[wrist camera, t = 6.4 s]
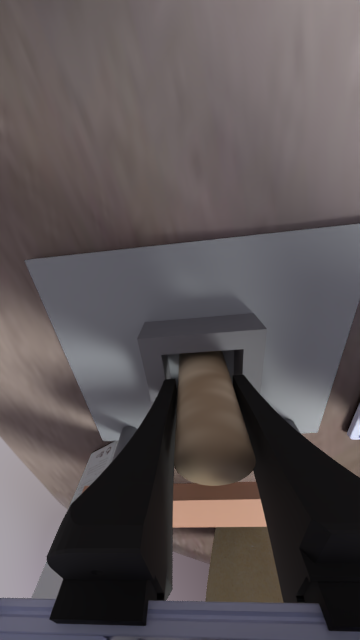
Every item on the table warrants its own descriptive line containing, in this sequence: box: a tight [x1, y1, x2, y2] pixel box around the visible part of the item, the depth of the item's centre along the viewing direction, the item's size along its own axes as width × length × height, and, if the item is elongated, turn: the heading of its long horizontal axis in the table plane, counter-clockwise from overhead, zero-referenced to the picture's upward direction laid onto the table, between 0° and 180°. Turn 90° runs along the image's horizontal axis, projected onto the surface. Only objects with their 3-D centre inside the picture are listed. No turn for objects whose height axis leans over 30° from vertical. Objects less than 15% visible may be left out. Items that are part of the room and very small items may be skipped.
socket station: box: [24, 223, 360, 527], centre depth 12 cm, size 20×17×7 cm
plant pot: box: [205, 527, 284, 603], centre depth 20 cm, size 15×15×16 cm
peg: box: [174, 351, 256, 486], centre depth 11 cm, size 3×3×7 cm
